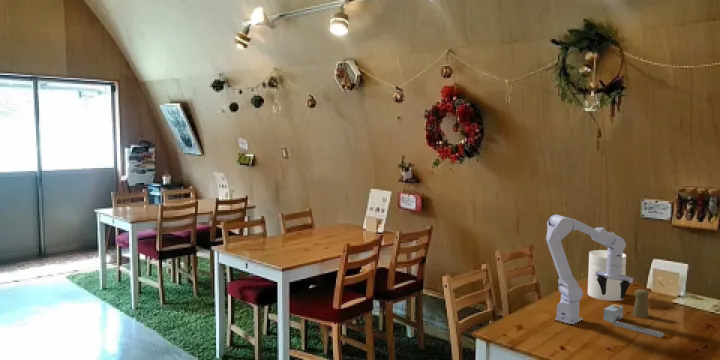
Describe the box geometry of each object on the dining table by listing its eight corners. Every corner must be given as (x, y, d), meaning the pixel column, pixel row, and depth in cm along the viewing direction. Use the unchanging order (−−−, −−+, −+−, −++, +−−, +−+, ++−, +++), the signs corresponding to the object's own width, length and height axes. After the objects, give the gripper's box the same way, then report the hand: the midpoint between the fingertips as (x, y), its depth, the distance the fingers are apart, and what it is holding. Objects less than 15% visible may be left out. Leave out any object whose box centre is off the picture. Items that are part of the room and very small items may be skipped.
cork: (632, 316, 234) (633, 291, 233) (632, 312, 239) (633, 287, 238) (648, 318, 231) (649, 293, 230) (648, 314, 236) (649, 289, 235)
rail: (661, 337, 211) (661, 333, 211) (613, 325, 224) (613, 321, 224) (663, 336, 212) (663, 332, 212) (615, 324, 225) (615, 320, 225)
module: (613, 323, 226) (614, 310, 226) (603, 320, 229) (604, 308, 229) (622, 317, 232) (623, 305, 232) (612, 315, 235) (613, 303, 235)
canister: (580, 292, 268) (581, 251, 266) (607, 289, 273) (609, 249, 271) (604, 302, 253) (605, 259, 251) (632, 298, 258) (634, 256, 256)
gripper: (636, 265, 227) (635, 298, 229) (601, 259, 238) (599, 290, 239) (629, 268, 222) (628, 301, 224) (593, 262, 233) (592, 294, 234)
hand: (613, 296), depth 231 cm, fingers open, 7 cm apart
